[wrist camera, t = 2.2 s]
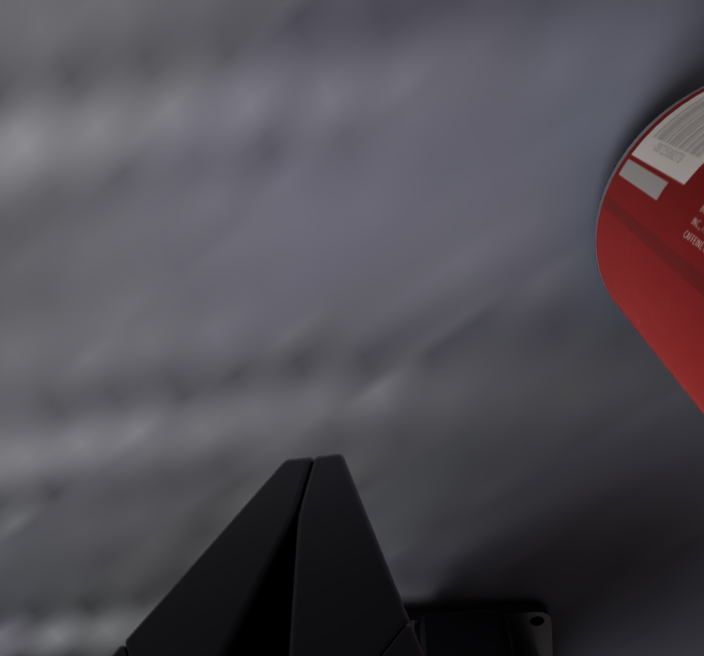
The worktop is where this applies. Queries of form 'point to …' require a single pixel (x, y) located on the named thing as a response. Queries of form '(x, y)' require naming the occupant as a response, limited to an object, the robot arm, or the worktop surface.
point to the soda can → (660, 239)
